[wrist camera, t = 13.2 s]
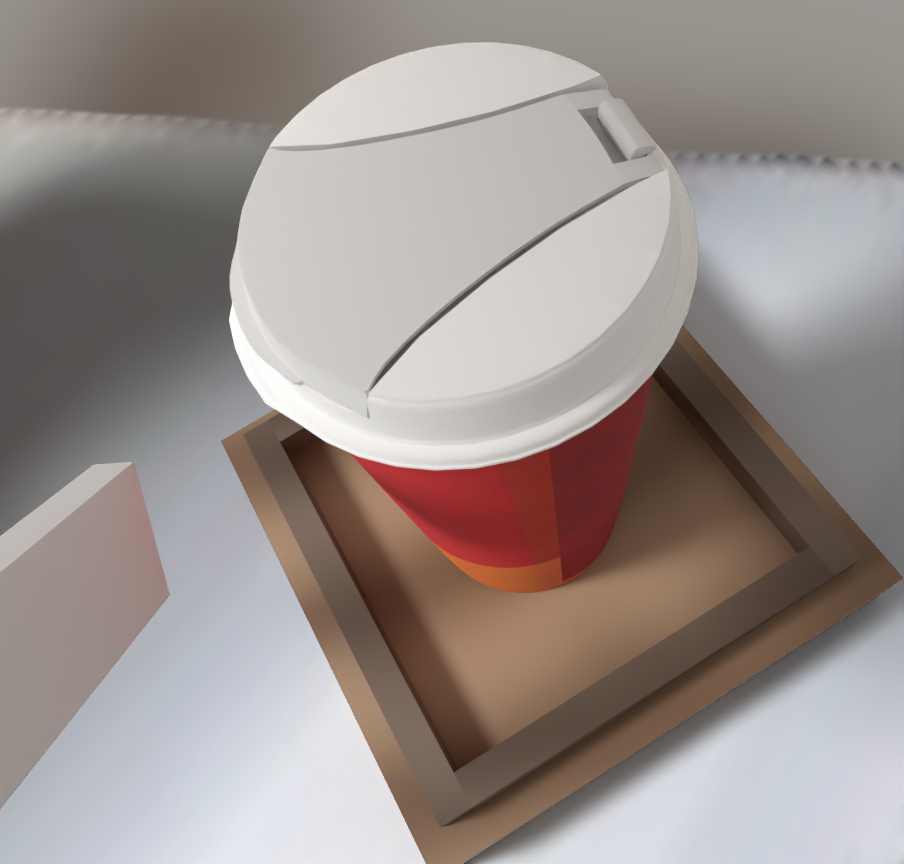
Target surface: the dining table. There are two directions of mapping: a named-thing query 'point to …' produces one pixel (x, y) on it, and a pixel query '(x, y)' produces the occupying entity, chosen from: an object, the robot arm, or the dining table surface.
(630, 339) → the coffee cup
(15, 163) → the dining table surface
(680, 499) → the walnut base plate
